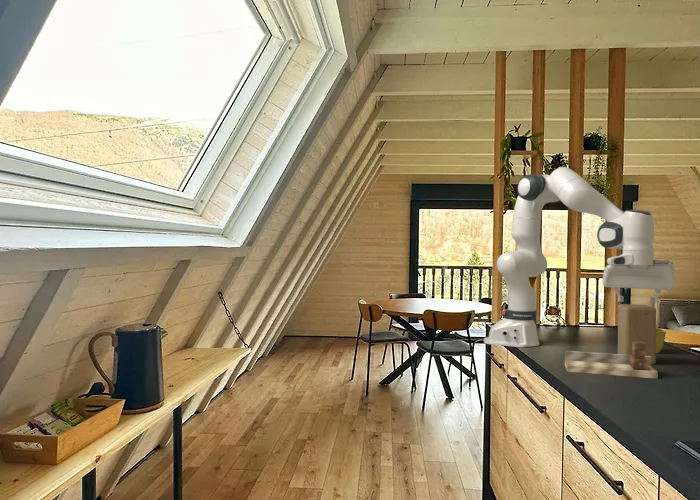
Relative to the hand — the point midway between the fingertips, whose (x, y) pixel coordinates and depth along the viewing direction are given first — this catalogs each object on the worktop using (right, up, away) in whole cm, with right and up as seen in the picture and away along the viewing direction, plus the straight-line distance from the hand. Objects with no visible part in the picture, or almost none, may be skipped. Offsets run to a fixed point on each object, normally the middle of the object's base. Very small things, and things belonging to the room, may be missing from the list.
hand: (636, 302), depth 168 cm
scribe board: (-8, -23, +2) cm, 24 cm away
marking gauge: (0, -21, -1) cm, 21 cm away
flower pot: (+25, -23, +35) cm, 49 cm away
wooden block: (+10, -23, +18) cm, 31 cm away
